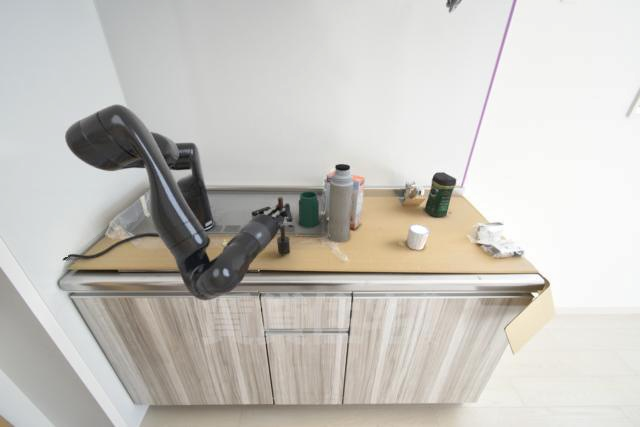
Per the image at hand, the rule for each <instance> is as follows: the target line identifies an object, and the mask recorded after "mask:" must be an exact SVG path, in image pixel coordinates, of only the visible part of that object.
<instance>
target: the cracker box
mask: <svg viewBox="0 0 640 427" xmlns="http://www.w3.org/2000/svg"><path fill="white" fill-rule="evenodd" d="M334 173H335V170H333V171H331V172H330V173H327V174H326V185H325V186H326V187H325V221H326V222H328V221H327V219H326V218H328V217H329V203H330V181H331V180H332V177H333V174H334ZM351 175H352V181H353V183H354V184H353V195H352V206H351V218H350V230H356V229H357V228H358V226H360V224H361V220H362V209H363V201H364V200H363V199H364V191H365V182H366V177H364V176H360V175H357V174H356V175H355V174H351Z"/></svg>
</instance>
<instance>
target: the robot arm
mask: <svg viewBox="0 0 640 427" xmlns="http://www.w3.org/2000/svg"><path fill="white" fill-rule="evenodd" d="M64 134H65V135H64V139H65V143H66V146H67V147H68V149H69V151H70V152H71V153H72V154H73V155H74V156H75V157H76V158H77V159H78V160H80V161H82V162H83V163H85V164H86V165H88V166H90V167H92V168H94V169H98V170H100V171H101V170H102V171H106V172H116V171H122V170H128V169H145V171H146V175H147V180H148V189H149V190H148V191H149V215H150V221H151V224H152V226H153V229H154V230H155V232H156V233H150V232H148V233H147V232H146V233H141V234H137V235H133V236H130V237H127V238H124V239H122V240H120V241H117V242H115V243H113V244H112V245H110V246H109V247H107V248H106V249H104V250H102V251H100V252H98V253H95V254H91V255H83V254H75V253H71V254H67V255H68V257H65V256H64V257H65V258H64V257H63V258H62V261H66V260H68V259H69V258H78V259H93V258H96V257H100V256H102V255H104V254H106V253H108V252H109V251H110V250H112V249H114V248H115V247H117V246H118V245H121V244H123V243H126V242H128V241H131V240H134V239H138V238H141V237H142V238H143V237H148V236H149V237H159V238H160V240H161V241H162V243H164V246H165V247H166V248H167V249H168V250H169V252H170V254H172V256H173V258H174V260H175V263H176V267H177V269H178V272H179V275H180V276H181V279H182V281H183V284H184V286H185V288H186V289H187V291H188V292H189V293H190V294H191V295H192V296H193V297H194V298H196V299H198V300H201V301H211V300H214V299H216V298H219V297H221V296H224V295H227V294H228V293H230V292H232V291H234V290H235V289H236V288H237V287H238V286H239V285H240V284H241V283H242V282H243V279H244V278H245V276H246V274H247V272H248V271H249V268H250V265H251V264H252V263H253V262H254V260H255V259H256V258H257V257H258V256H259V254H260V253H262V252H263V251H264V250H265V249H266V248H267V247H268V245H269V244H270V243H271V242H272V241H273V239H275V237H276V236H277V235H278V232H279V231H280V229H281V228H283V226H284V227H285V226H288V228H293V227H294V218H293V216H292V212H291V205H290V203H285V204H283V207H282V209H281V210H280V211H279V206H278V203H277V204H276V205H275V206H272V207H270V206H266V207H261V208H259V209H256V210H253V211H251V220H249V221H248V222H247V223H246V224H245V225H244V226H243V227H241V229H240V230H239V232H238V233H237V234H236V235H234V237H232V238H231V239H230V240H229V241H228V242H227V243H226V244H225V245H224V247H223V249H222V252H220V253H219V255H217V256H216V257H214V258H213V259H212V260H211V259H210V257H209V254H208V252H207V249H208V248H209V246H210V244H211V238H210V236H209V234H208V232H207V231H209V230H210V229H212V228H214V226H215V220H214V217H213V212H212V208H211V203H210V200H209V195H208V191H207V190H208V189H207V186H206V182H205V177H204V173H203V168H202V162H201V155H200V151H199V148H198V146H197V145H196V143H194V142H175V141H174V140H172V139H171V138H169V137H168V136H166V135H163V134H161V133H158V132H154V131H150V129H149V128H148V127H147V126H146V124H145V123H144V121H143V120H142V119H141V118H140V117H139V116H138V115H137V114H136V113H135V112H134V111H133V110H131V109H130V108H128V107H127V106H124V105H123V104H118V103H117V104H112V105H108V106H106V107H103V108H102V109H100V110H98V111H95V112H93V113H91V114H89V115H87V116H85V117H83V118H81V119H79V120H76V121H75V122H73V123H72V124H71V125H70V126H69V127H68V128H67V129H66V131H65V133H64ZM189 170H190V173H189V174H188V175H185V176H182V177H181V178H179V179H178V180H177V181H176V179H175V177H174V175H173V173H172V171H189ZM283 219H284V221H283Z"/></svg>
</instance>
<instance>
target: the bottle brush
mask: <svg viewBox="0 0 640 427" xmlns="http://www.w3.org/2000/svg"><path fill="white" fill-rule="evenodd" d="M277 204H278V206H279V211H280V210H281V209H282V207H283V206H284V198H283V197H282V196H278V198H277ZM283 221H285V218H284V219H283ZM279 231H280V232H279V233H280V236H278V237H277V238H276V246H277V253H278V255H281V256H286V255H289V254H290V252H291V247H290V246H291V245H290V244H291V243H290V237H289V236H287V235H286V228H285V226H283V228H281V229H279Z"/></svg>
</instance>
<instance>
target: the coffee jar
mask: <svg viewBox="0 0 640 427" xmlns="http://www.w3.org/2000/svg"><path fill="white" fill-rule="evenodd" d="M456 185H457V178H456V177H453V176H452V175H450V174H447V173H446V172H445V171H443V172H441V171H440V172H436V173H434V174H433V176H432V179H431V186H430V190H429V193H428V197H427V200H426V203H425V206H424V210H425V212H427V213H428V214H429V215H430V216H432V217H437V218H443V217H446V216H447V215H448V210H449V206H450V202H451V199H452V194H453V192H454V189H455V188H456Z"/></svg>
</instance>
